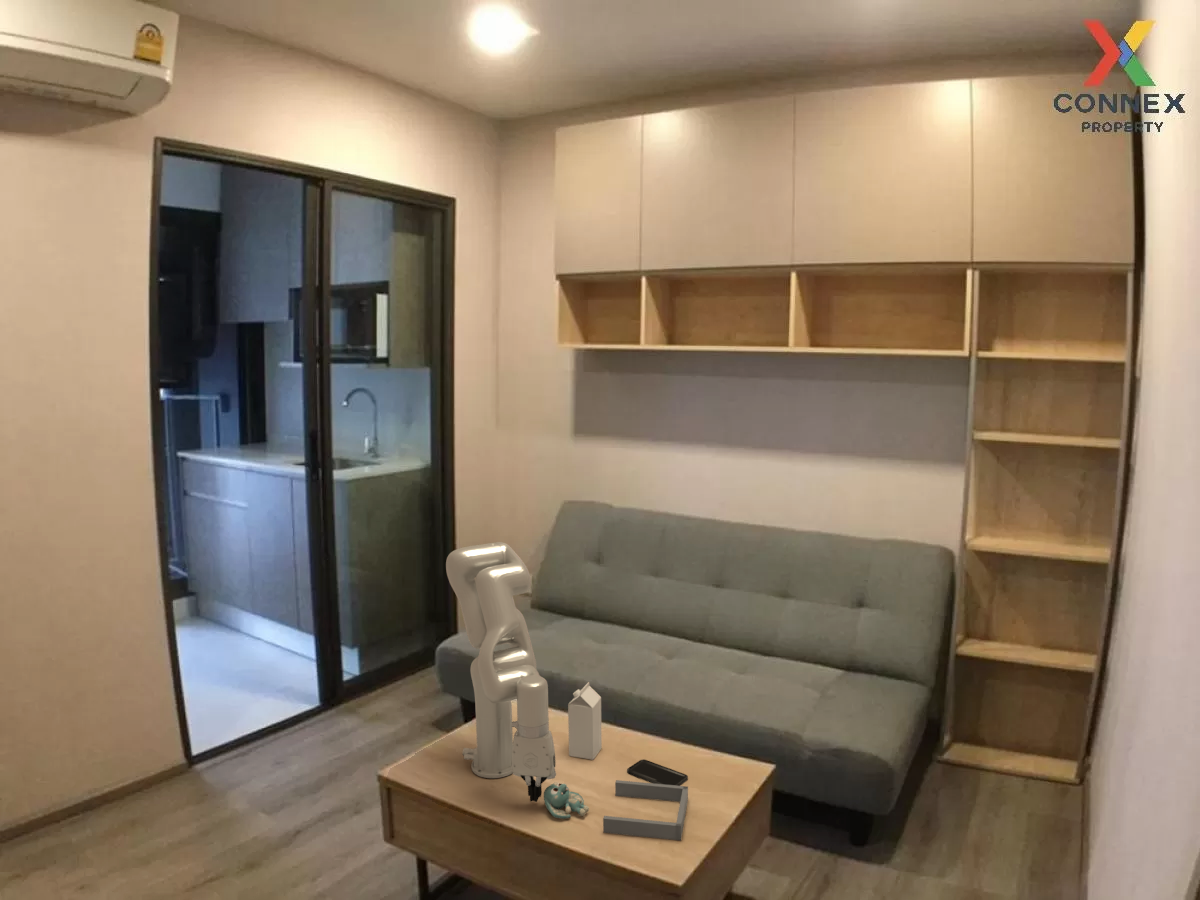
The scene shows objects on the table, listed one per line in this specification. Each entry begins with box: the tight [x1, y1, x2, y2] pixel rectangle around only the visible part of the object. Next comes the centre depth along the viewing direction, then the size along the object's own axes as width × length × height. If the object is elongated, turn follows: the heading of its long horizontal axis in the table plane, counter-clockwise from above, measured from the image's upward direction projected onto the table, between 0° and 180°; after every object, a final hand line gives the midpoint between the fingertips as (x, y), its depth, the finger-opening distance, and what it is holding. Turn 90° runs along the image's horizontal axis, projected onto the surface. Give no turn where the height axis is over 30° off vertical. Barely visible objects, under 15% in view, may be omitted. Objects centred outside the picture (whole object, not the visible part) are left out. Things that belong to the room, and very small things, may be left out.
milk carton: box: [567, 681, 602, 761], centre depth 237 cm, size 7×7×19 cm
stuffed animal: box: [543, 781, 590, 820], centre depth 209 cm, size 11×7×12 cm
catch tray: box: [602, 779, 689, 842], centre depth 206 cm, size 18×17×4 cm
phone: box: [626, 758, 689, 786], centre depth 225 cm, size 8×1×15 cm
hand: (535, 798), depth 212 cm, fingers closed
